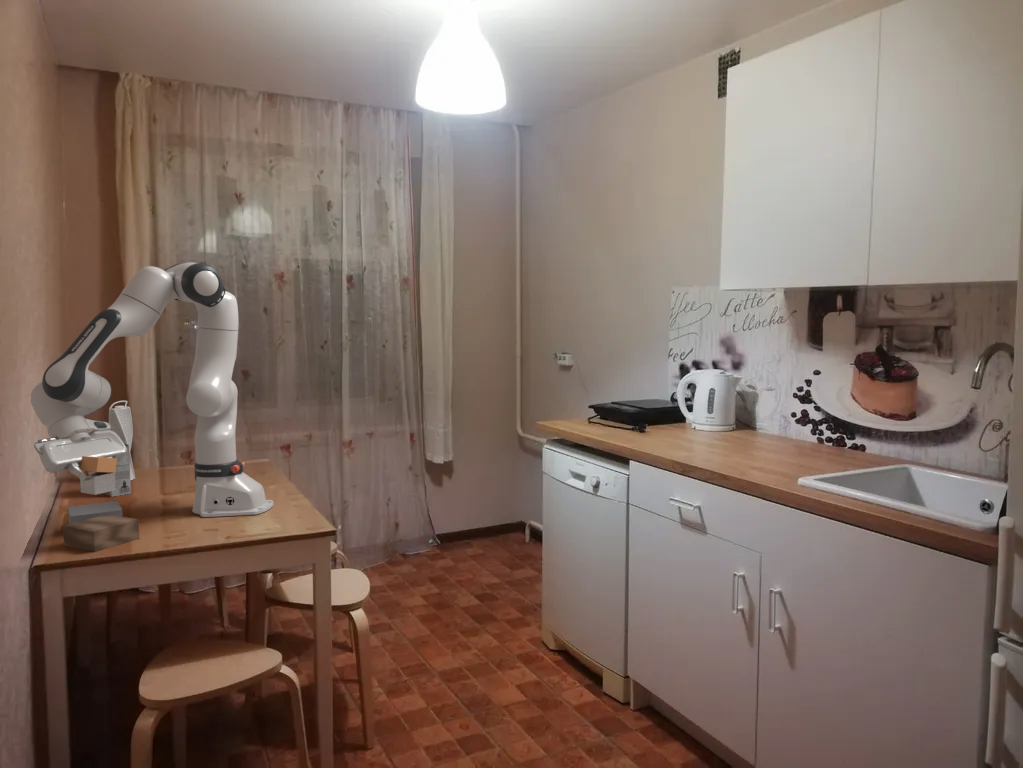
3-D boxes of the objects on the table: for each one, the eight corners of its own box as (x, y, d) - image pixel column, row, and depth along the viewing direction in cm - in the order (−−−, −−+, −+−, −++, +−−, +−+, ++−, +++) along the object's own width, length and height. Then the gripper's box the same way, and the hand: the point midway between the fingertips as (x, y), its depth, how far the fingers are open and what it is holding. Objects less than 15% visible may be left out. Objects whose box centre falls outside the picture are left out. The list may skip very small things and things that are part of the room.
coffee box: (100, 493, 243) (97, 443, 242) (121, 489, 248) (118, 441, 246) (111, 497, 237) (108, 447, 235) (132, 493, 242) (129, 444, 240)
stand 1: (118, 518, 212) (117, 500, 212) (123, 527, 202) (122, 509, 202) (69, 524, 206) (68, 506, 205) (71, 535, 196) (70, 516, 195)
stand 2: (108, 532, 198) (107, 514, 197) (139, 538, 192) (138, 519, 192) (64, 545, 187) (62, 525, 187) (95, 551, 182) (93, 531, 181)
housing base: (101, 487, 192) (100, 470, 192) (115, 490, 190) (114, 472, 189) (80, 492, 187) (79, 474, 187) (95, 494, 185) (94, 476, 184)
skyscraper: (118, 479, 265) (113, 400, 262) (140, 479, 265) (136, 400, 262) (104, 484, 257) (99, 403, 254) (127, 484, 256) (122, 402, 254)
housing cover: (98, 470, 191) (100, 457, 192) (115, 472, 189) (117, 458, 190) (79, 470, 186) (81, 456, 186) (96, 471, 184) (98, 457, 185)
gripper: (35, 432, 181) (63, 476, 177) (114, 421, 199) (140, 461, 196) (25, 449, 183) (52, 493, 180) (104, 437, 201) (130, 476, 198)
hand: (99, 476), depth 188 cm, fingers closed on housing base, 5 cm apart
